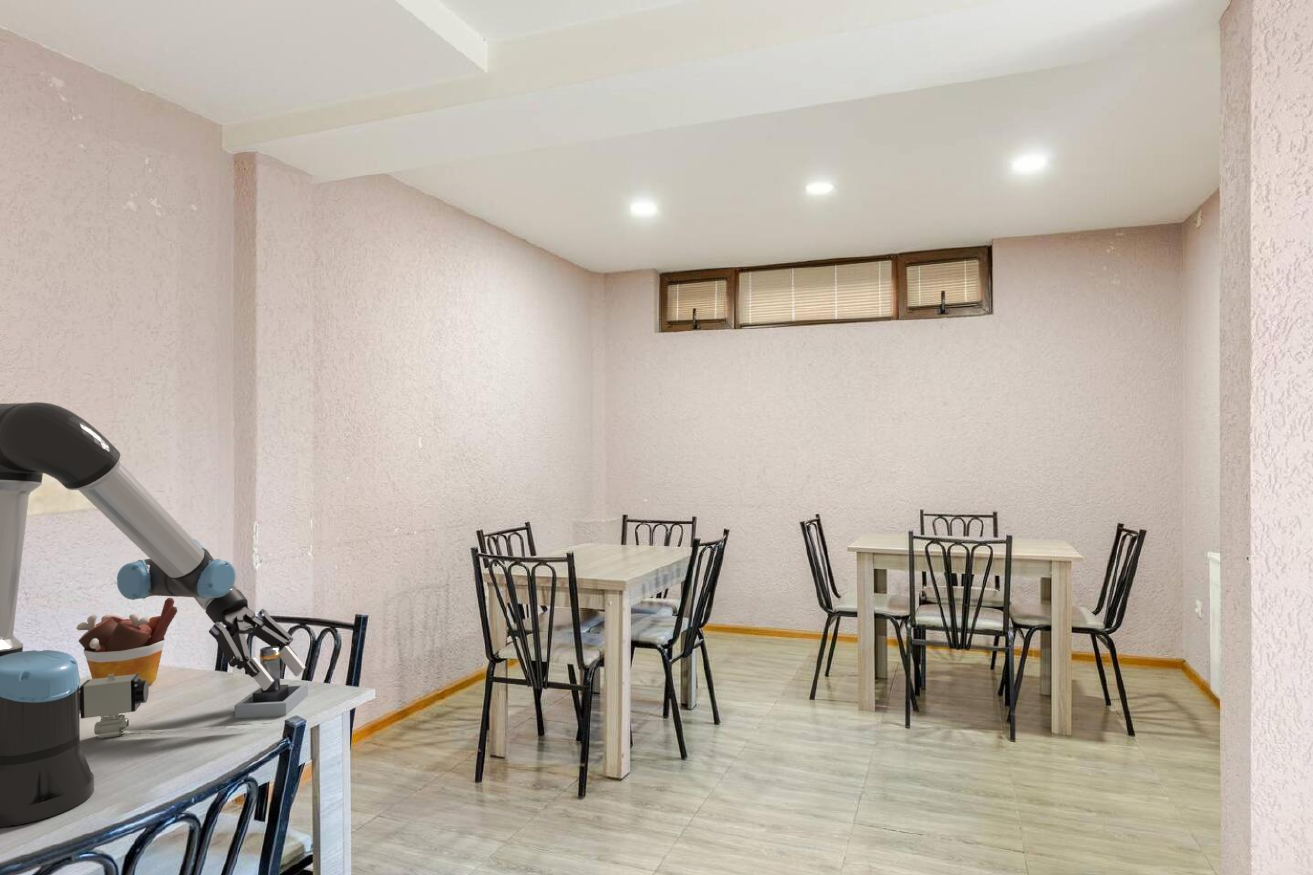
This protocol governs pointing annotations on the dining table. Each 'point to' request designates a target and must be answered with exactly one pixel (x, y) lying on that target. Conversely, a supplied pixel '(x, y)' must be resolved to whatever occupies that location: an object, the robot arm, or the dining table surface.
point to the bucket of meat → (126, 643)
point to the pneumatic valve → (112, 701)
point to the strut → (272, 666)
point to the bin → (271, 704)
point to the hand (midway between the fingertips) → (285, 678)
